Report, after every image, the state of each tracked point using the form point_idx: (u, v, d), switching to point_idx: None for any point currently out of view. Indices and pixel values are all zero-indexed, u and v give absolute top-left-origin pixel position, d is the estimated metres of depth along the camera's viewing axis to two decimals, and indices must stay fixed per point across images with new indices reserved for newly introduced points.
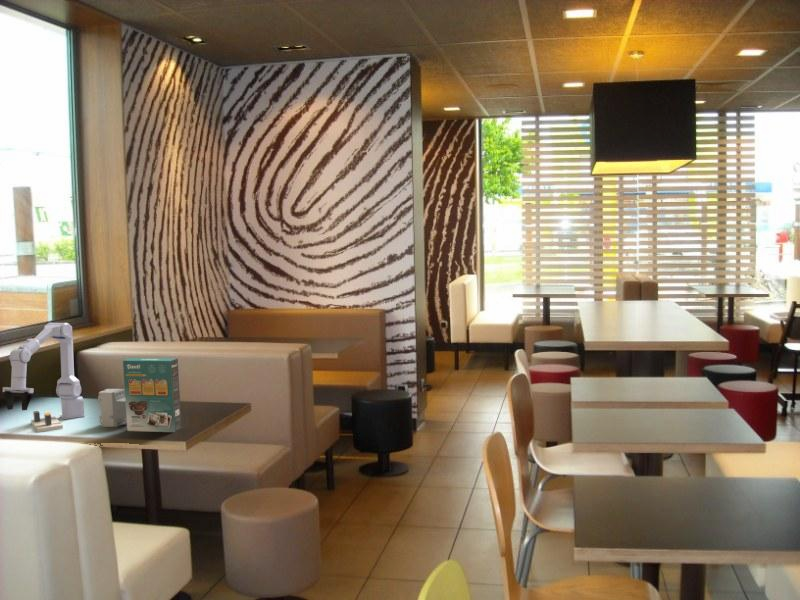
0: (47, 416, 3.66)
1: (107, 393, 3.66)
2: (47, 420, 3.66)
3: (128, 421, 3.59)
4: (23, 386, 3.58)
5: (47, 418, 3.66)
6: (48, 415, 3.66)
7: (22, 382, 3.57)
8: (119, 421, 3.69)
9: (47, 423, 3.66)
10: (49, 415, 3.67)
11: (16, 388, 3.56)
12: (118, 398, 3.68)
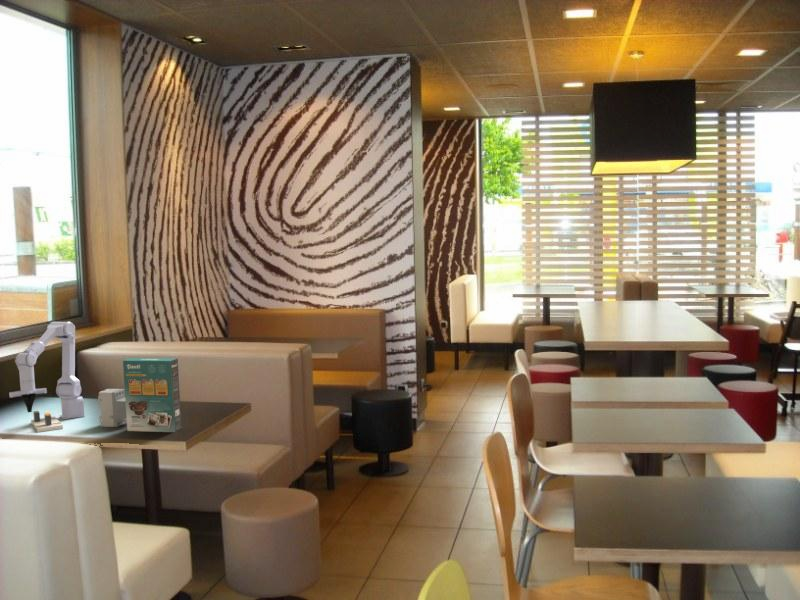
0: (47, 416, 3.66)
1: (107, 393, 3.66)
2: (47, 420, 3.66)
3: (128, 421, 3.59)
4: None
5: (47, 418, 3.66)
6: (48, 415, 3.66)
7: (34, 384, 3.64)
8: (119, 421, 3.69)
9: (47, 423, 3.66)
10: (49, 415, 3.67)
11: (32, 391, 3.62)
12: (118, 398, 3.68)
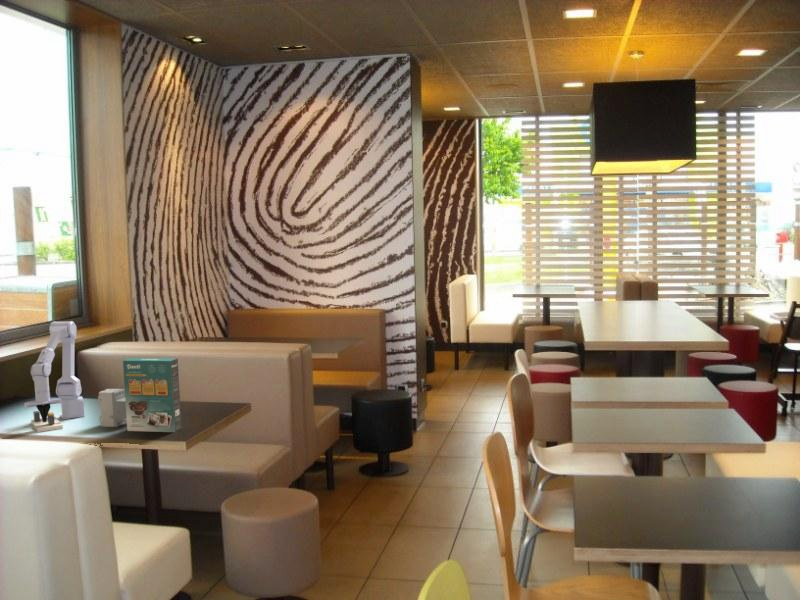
0: (50, 416, 3.67)
1: (107, 393, 3.66)
2: (50, 420, 3.67)
3: (128, 421, 3.59)
4: (49, 398, 3.68)
5: (50, 418, 3.67)
6: (51, 415, 3.67)
7: (49, 394, 3.67)
8: (119, 421, 3.69)
9: (50, 423, 3.67)
10: (52, 415, 3.67)
11: (47, 401, 3.65)
12: (118, 398, 3.68)
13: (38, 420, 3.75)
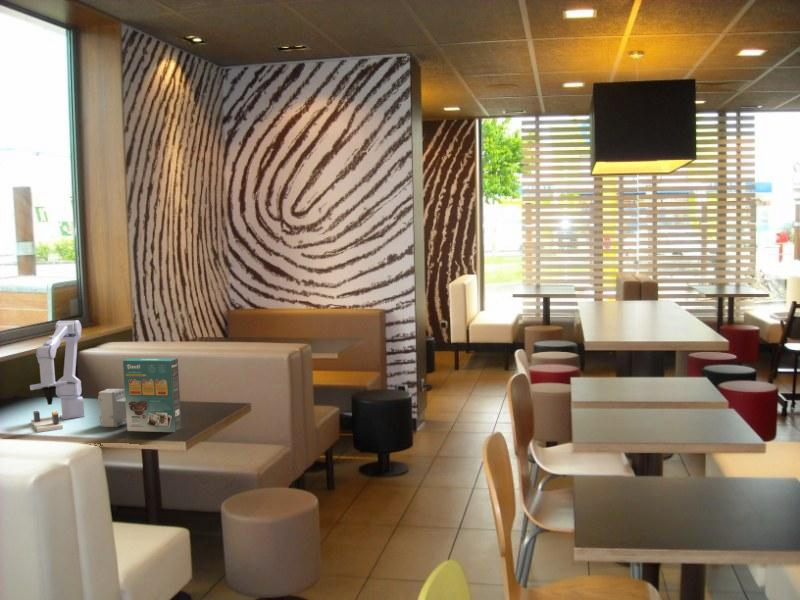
0: (55, 415, 3.68)
1: (107, 393, 3.66)
2: (55, 419, 3.68)
3: (128, 421, 3.59)
4: None
5: (55, 417, 3.68)
6: (55, 414, 3.68)
7: (54, 377, 3.68)
8: (119, 421, 3.69)
9: (55, 422, 3.68)
10: (57, 414, 3.68)
11: (53, 384, 3.66)
12: (118, 398, 3.68)
13: (38, 420, 3.75)
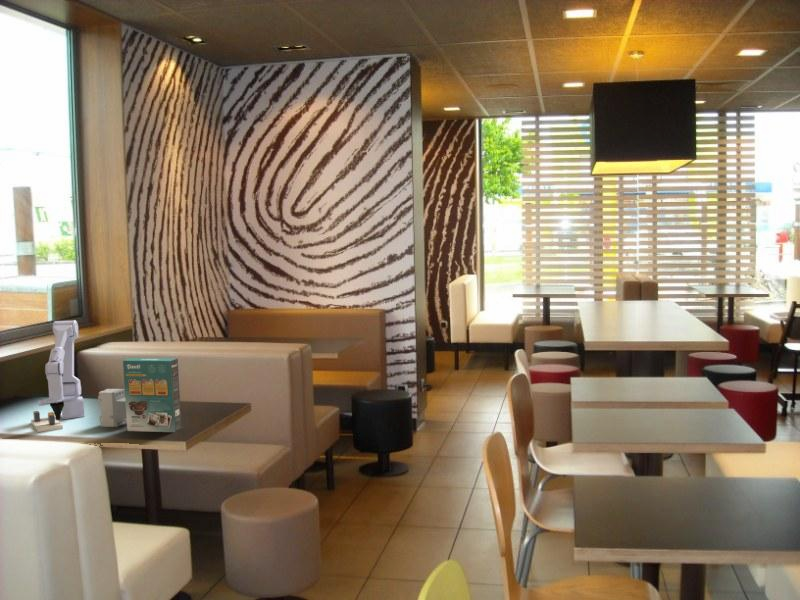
0: (51, 416, 3.67)
1: (107, 393, 3.66)
2: (51, 419, 3.67)
3: (128, 421, 3.59)
4: (63, 396, 3.71)
5: (51, 417, 3.67)
6: (51, 415, 3.67)
7: (63, 393, 3.70)
8: (119, 421, 3.69)
9: (51, 422, 3.67)
10: (53, 415, 3.67)
11: (61, 399, 3.68)
12: (118, 398, 3.68)
13: (38, 420, 3.75)
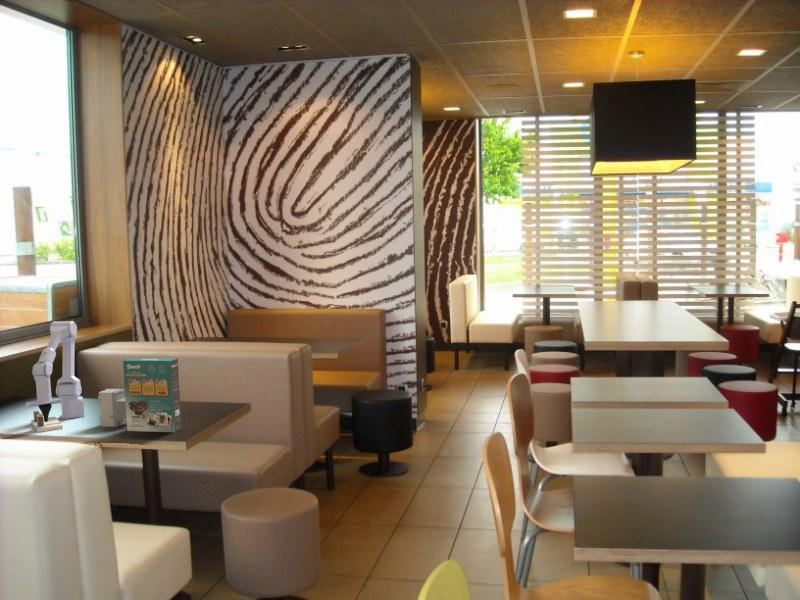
0: (39, 417, 3.65)
1: (107, 393, 3.66)
2: (39, 421, 3.65)
3: (128, 421, 3.59)
4: (51, 398, 3.68)
5: (39, 419, 3.65)
6: (40, 416, 3.65)
7: None
8: (119, 421, 3.69)
9: (39, 424, 3.65)
10: (41, 416, 3.65)
11: (49, 401, 3.66)
12: (118, 398, 3.68)
13: None
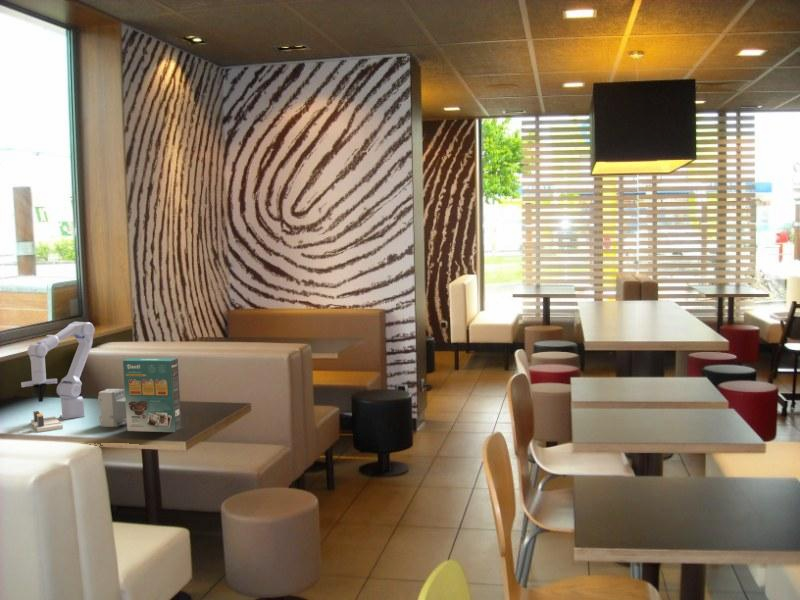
0: (39, 417, 3.65)
1: (107, 393, 3.66)
2: (39, 421, 3.65)
3: (128, 421, 3.59)
4: None
5: (39, 419, 3.65)
6: (40, 416, 3.65)
7: (45, 374, 3.75)
8: (119, 421, 3.69)
9: (39, 424, 3.65)
10: (41, 416, 3.65)
11: (44, 381, 3.73)
12: (118, 398, 3.68)
13: None
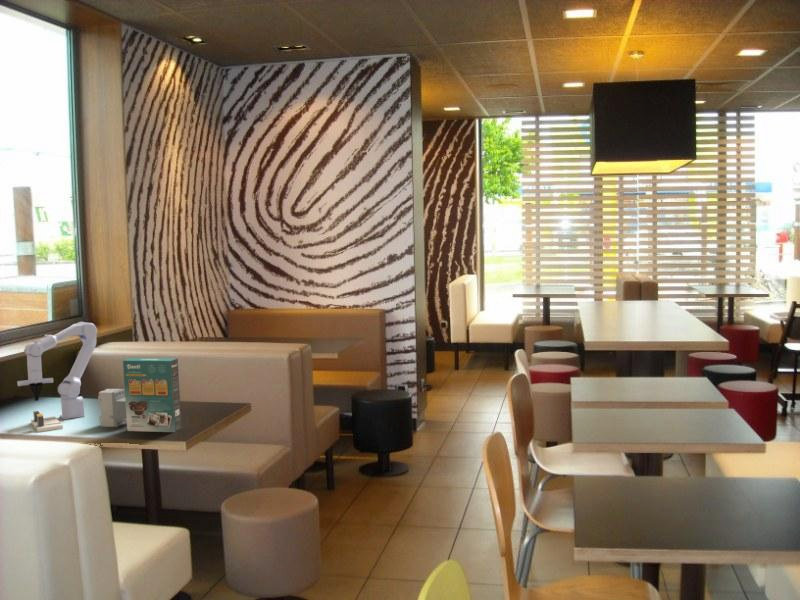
0: (39, 417, 3.65)
1: (107, 393, 3.66)
2: (39, 421, 3.65)
3: (128, 421, 3.59)
4: None
5: (39, 419, 3.65)
6: (40, 416, 3.65)
7: (41, 374, 3.77)
8: (119, 421, 3.69)
9: (39, 424, 3.65)
10: (41, 416, 3.65)
11: (39, 380, 3.75)
12: (118, 398, 3.68)
13: None
